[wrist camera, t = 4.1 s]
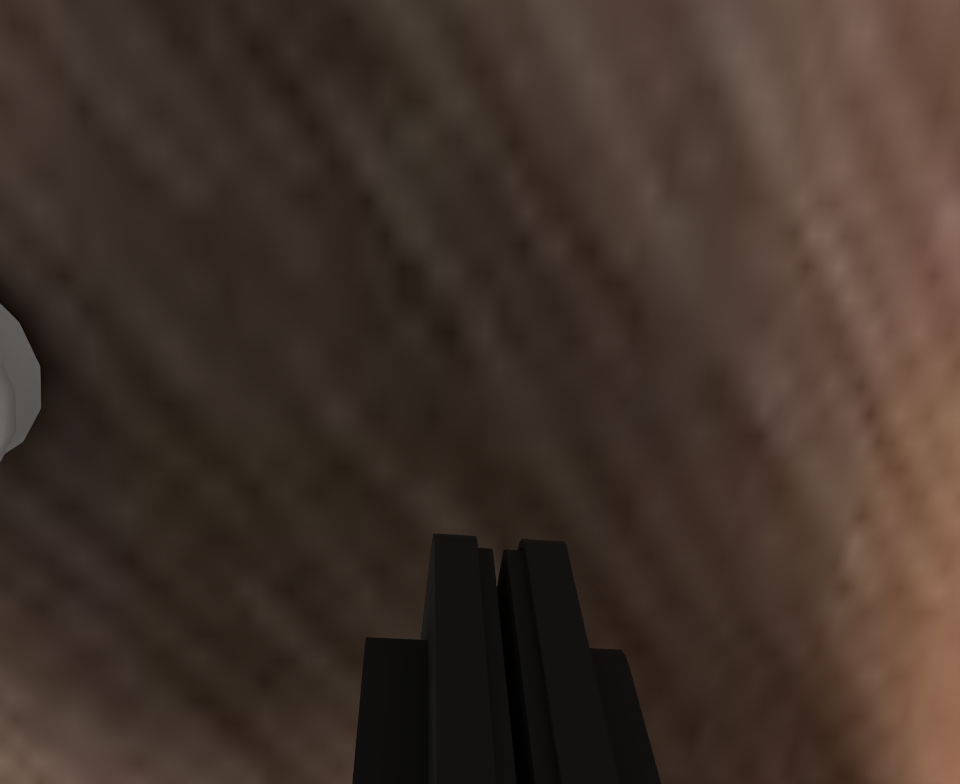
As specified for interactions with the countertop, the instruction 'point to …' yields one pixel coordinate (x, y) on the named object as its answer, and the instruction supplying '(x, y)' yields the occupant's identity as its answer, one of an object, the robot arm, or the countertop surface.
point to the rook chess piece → (16, 383)
